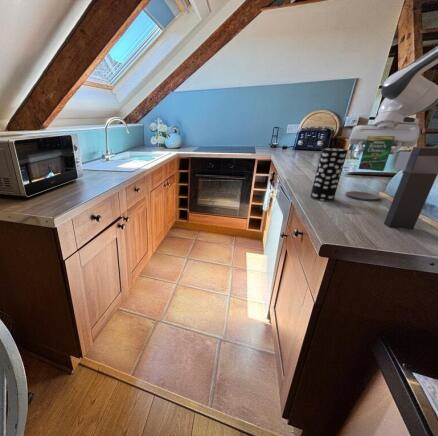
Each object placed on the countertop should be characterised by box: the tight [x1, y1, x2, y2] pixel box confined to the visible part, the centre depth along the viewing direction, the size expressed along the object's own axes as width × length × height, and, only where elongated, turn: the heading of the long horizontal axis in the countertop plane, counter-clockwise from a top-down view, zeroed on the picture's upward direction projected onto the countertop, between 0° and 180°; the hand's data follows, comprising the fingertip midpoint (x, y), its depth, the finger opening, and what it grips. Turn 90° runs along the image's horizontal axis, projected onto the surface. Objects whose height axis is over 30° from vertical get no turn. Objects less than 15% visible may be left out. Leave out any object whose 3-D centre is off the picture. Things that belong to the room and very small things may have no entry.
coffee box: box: [358, 136, 395, 172], centre depth 96 cm, size 8×3×13 cm, turn 40°
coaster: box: [344, 190, 380, 202], centre depth 103 cm, size 11×11×1 cm
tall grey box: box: [383, 146, 438, 230], centre depth 74 cm, size 8×6×24 cm
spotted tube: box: [309, 147, 348, 202], centre depth 99 cm, size 8×8×20 cm
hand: (376, 152), depth 96 cm, fingers closed on coffee box, 8 cm apart
